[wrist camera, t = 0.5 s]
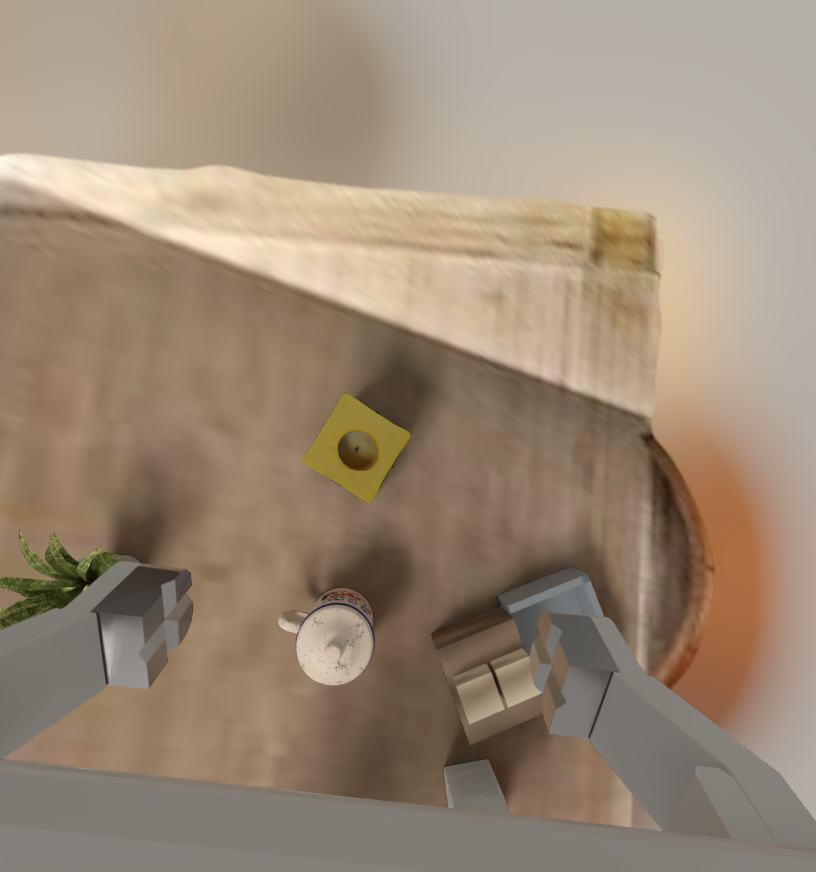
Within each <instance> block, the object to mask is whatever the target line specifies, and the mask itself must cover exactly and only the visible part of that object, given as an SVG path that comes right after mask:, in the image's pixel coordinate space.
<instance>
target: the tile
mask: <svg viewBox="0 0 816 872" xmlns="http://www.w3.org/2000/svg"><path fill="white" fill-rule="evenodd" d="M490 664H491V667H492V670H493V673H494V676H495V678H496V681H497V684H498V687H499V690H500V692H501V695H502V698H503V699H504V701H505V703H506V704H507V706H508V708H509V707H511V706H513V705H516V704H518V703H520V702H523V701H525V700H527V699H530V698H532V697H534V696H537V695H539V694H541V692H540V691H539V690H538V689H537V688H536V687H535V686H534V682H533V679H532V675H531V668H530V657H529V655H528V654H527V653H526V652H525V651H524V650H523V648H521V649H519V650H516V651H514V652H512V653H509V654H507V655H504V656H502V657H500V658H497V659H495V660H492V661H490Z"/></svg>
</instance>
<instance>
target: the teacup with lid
mask: <svg viewBox="0 0 816 872" xmlns="http://www.w3.org/2000/svg"><path fill="white" fill-rule="evenodd" d="M296 621H299V622H302V623H299V622H296ZM278 624H279V626H280V627H282V628H283V629H285V630H287V631H289V632H293V633H297V638H296V654H297V658H298V661H299V663H300V665H301V667H302V669H303V670H304V671H305V673H306V674H307V675H308V676H309V677H311V678H312V679H313V680H315V681H317V682H319V683H322V684H326V685H341V684H344V683H347V682H350V681H352V680H353V679H355V678H356V677H358V676H359V675H360V674H361V673H362V672H363V671H364V670H365V669H366V667H367V666H368V664H369V662H370V661H371V658H372V655H373V652H374V646H375V637H374V632H373V614H372V610H371V607H370V605H369V603H368V602H367V600H366V599H365V598H364V597H363V596H362V595H361V594H359V593H358V592H356V591H354V590H351V589H347V588H337V589H333V590H330V591H328V592H326V593H325V594H323V595H322V596H321V597H320V598H319V599H318V600H317V601H316V602H315V604H314V605H313V607H312V609H311V611H310V613H307V612H303V611H296V610H291V611H286V612H283V613H282V614H281V615H280V617H279V620H278Z"/></svg>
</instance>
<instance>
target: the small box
mask: <svg viewBox="0 0 816 872" xmlns="http://www.w3.org/2000/svg"><path fill="white" fill-rule="evenodd" d="M444 774H445V783H446V791H447V800H448V808H457V809H466V810H475V811H485V812H494V813H503V814H511V812H510V810H509V807H508V805H507V802H506V800H505V798H504V795H503V793H502V790H501V788H500V786H499V783H498V781H497V779H496V776H495V774H494V771H493V769H492V766H491V764H490V762H489V760H488V759H485V760H480V761H474V762H469V763H463V764H458V765H452V766H447V767H444Z"/></svg>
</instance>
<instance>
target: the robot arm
mask: <svg viewBox="0 0 816 872" xmlns="http://www.w3.org/2000/svg"><path fill="white" fill-rule="evenodd" d="M191 586H192V580H191V573H190V572H189V571H188V570H187V569H179V568H172V567H165V566H158V565H151V564H141V563H134V562H127V561H121V562H118V563H115V564H114V565H113V566H112V567H111V568H109V569H108V570H107V571H106V572H105V573H104V574H103V575H101V576H100V577H99V578H98V579H97V580H96V581H94V582H93V583H92V584H91V585H90V586H89V587H88V588H86V589H85V590H84V591H83V592H82V593H81V594H80V595H78V596H77V597H76V598H75V599H74V600H73V601H72V602H70V603H69V604H68V605H67V606H66V607H65V608H63V609H57V608H55V609H52V610H50V611H47V612H45V613H42V614H40V615H37V616H35V617H32V618H30V619H27V620H25V621H22V622H20V623H17V624H15V625H12V626H10V627H7V628H5V629H2V630H0V872H816V821H815V820H814V818H813V817H812V815H811V814H810V813H809V812H808V810H807V809H806V807H804V805H803V804H802V802H801V801H800V800H799V798H798V797H797V796H796V794H795V793H794V792H793V790H792V789H791V788H790V786H789V785H788V784H787V782H786V781H785V780H784V778H783V777H782V776H781V775H780V773H778V772H777V771H776V770H775V769H773V768H772V767H771V766H769V765H768V764H767V763H765V762H764V761H763V760H761V759H760V758H759V757H758V756H756V755H755V754H753V753H752V752H751V751H750V750H748V749H747V748H746V747H744V746H743V745H742V744H740V743H739V742H738V741H737V740H735V739H734V738H733V737H731V736H730V735H729V734H727V733H726V732H725V731H724V730H722V729H721V728H720V727H718V726H717V725H715V724H714V723H713V722H712V721H710V720H709V719H708V718H706V717H705V716H704V715H702V714H701V713H700V712H698V711H697V710H696V709H695V708H693V707H692V706H691V705H689V704H688V703H687V702H685V701H684V700H683V699H682V698H680V697H679V696H677V695H676V694H675V693H674V692H672V691H671V690H670V689H668V688H667V687H666V686H664V685H663V684H662V683H661V682H659V681H658V680H657V679H655V678H654V677H651V676H646V675H645V673H644V672H643V670H642V668H641V667H640V665H639V663H638V662H637V660H636V658H635V657H634V655H633V654H632V652H631V650H630V649H629V647H628V645H627V644H626V642H625V640H624V639H623V637H622V635H621V634H620V632H619V630H618V629H617V627H616V625H615V624H614V622H613V621H612V620H611V619H610V618H608V617H600V616H589V615H586V616H582V615H573V614H564V613H555V612H546V611H543V612H542V614H541V615H540V617H539V621H538V624H537V626H538V628H539V631H540V634H541V635H539V636H538V637H537V638H536V639H534V640H533V644H532V648H531V652H530V668H531V675H532V679H533V682H534V686H535V687H536V688H537V689H538V690H539V691H540V692H541V693H542V694H543V695H542V698H541V702H540V706H541V709H542V713H543V716H544V719H545V722H546V726H547V729H548V732H549V734H555V735H562V736H569V737H576V738H583V739H590V740H589V742H590V743H591V744H592V746H593V747H594V748H595V749H596V750H597V752H598V753H599V754H600V755H601V757H602V758H603V759H604V760H605V761H606V763H607V764H608V765H609V766H610V767H611V769H612V770H613V771H614V772H615V773H616V775H617V776H618V777H619V778H620V779H621V781H622V782H623V783H624V784H625V785H626V787H627V788H628V789H629V790H630V791H631V793H632V794H633V795H634V796H635V797H636V799H637V800H638V801H639V802H640V803H641V805H642V806H643V807H644V808H645V810H646V811H647V812H648V813H649V814H650V816H651V817H652V818H653V819H654V820H655V821H656V823H657V824H658V825H659V826H660V828H661V829H662V830H663V831H658V830H649V829H639V828H630V827H621V826H612V825H603V824H594V823H585V822H576V821H567V820H557V819H548V818H539V817H530V816H521V815H512V814H503V813H494V812H485V811H475V810H466V809H457V808H448V807H439V806H430V805H421V804H411V803H402V802H393V801H384V800H375V799H366V798H357V797H347V796H338V795H329V794H320V793H311V792H302V791H292V790H283V789H274V788H265V787H256V786H247V785H238V784H229V783H219V782H210V781H201V780H192V779H183V778H174V777H165V776H156V775H147V774H138V773H129V772H120V771H110V770H101V769H92V768H83V767H74V766H65V765H55V764H46V763H37V762H28V761H19V760H9V759H3V758H5V757H6V756H8V755H9V754H10V753H12V752H13V751H15V750H16V749H18V748H19V747H21V746H22V745H24V744H25V743H27V742H28V741H29V740H31V739H32V738H34V737H35V736H37V735H38V734H40V733H41V732H43V731H44V730H45V729H47V728H48V727H50V726H51V725H53V724H54V723H56V722H57V721H59V720H60V719H61V718H63V717H64V716H66V715H67V714H69V713H70V712H72V711H73V710H75V709H76V708H78V707H79V706H80V705H82V704H83V703H85V702H86V701H88V700H89V699H91V698H92V697H94V696H95V695H96V694H98V693H99V692H101V691H102V690H104V689H105V688H106V685H110V686H122V687H135V688H147V689H149V688H150V687H151V685H152V684H153V682H154V681H155V679H156V678H157V676H158V675H159V674H160V672H161V671H162V669H163V668H164V666H165V665H166V664H167V662H168V660H167V652H168V651H170V650H172V649H173V648H175V647H177V646H178V645H180V643H181V642H182V640H183V639H184V637H185V635H186V634H187V631H188V629H189V626H190V623H191V621H192V614H193V601H192V600H191V598H190V597H189V596H188V595H187V593H186V592H187V591H188V590H189V588H190V587H191Z"/></svg>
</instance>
